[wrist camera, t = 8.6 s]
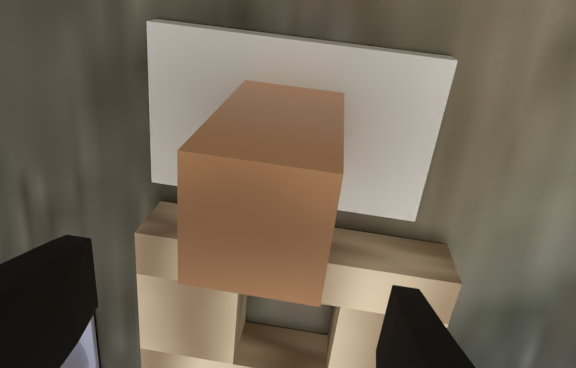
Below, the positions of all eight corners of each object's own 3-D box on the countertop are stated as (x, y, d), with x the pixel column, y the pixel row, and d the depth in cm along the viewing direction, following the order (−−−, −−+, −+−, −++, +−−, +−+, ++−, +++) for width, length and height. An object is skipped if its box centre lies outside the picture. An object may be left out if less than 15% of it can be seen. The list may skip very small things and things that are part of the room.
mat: (159, 173, 21) (151, 182, 20) (156, 18, 18) (146, 20, 17) (411, 210, 20) (415, 221, 20) (452, 56, 17) (457, 60, 17)
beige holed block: (163, 337, 26) (142, 379, 23) (160, 201, 22) (134, 232, 19) (405, 378, 25) (412, 427, 22) (446, 244, 21) (462, 283, 18)
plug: (239, 170, 20) (177, 283, 12) (245, 79, 18) (177, 150, 11) (329, 183, 19) (320, 307, 12) (344, 93, 18) (343, 174, 10)
